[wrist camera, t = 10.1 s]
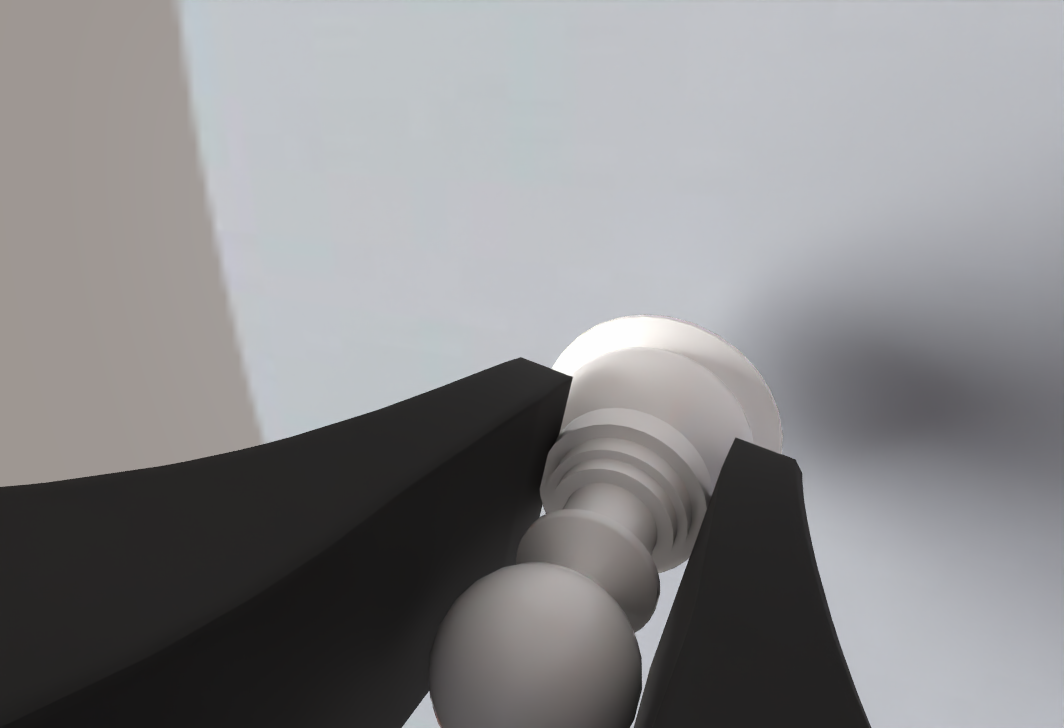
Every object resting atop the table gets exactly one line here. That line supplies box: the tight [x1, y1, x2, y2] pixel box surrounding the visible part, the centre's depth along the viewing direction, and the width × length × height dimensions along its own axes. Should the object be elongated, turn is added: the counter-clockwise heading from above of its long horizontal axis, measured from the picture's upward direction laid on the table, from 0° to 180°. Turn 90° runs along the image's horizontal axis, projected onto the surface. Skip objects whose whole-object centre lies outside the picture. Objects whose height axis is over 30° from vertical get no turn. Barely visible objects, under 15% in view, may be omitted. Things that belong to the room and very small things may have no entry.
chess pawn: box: [429, 314, 783, 728], centre depth 9 cm, size 3×3×5 cm
